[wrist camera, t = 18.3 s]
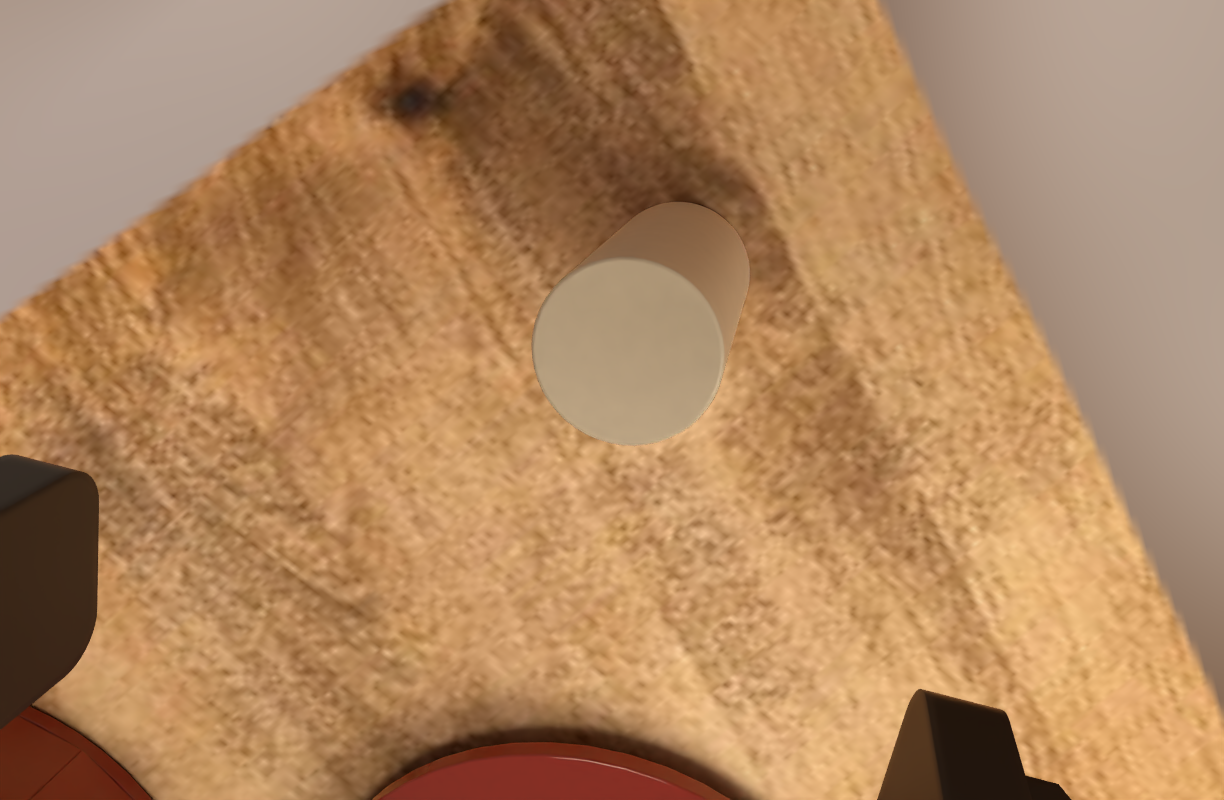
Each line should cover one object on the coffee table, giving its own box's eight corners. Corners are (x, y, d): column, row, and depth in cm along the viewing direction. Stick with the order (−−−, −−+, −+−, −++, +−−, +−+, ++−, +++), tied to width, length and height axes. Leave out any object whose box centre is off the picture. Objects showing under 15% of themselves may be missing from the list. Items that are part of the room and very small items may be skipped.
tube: (588, 227, 24) (502, 290, 17) (724, 181, 23) (688, 230, 16) (635, 359, 25) (569, 468, 18) (768, 319, 24) (750, 418, 17)
